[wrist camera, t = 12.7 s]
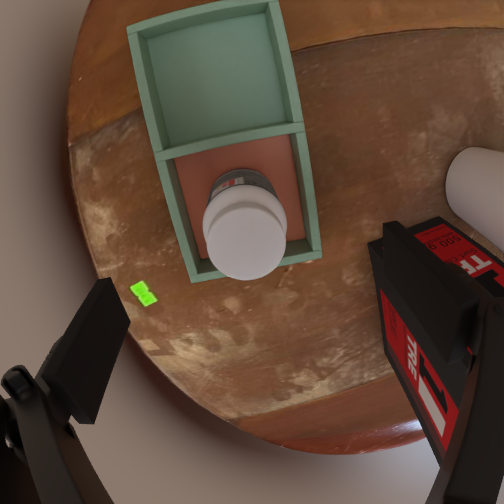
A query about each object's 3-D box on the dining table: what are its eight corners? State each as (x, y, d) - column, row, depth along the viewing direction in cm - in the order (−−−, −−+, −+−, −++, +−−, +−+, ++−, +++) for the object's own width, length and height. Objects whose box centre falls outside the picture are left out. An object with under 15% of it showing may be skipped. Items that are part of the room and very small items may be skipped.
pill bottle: (196, 188, 27) (177, 229, 18) (253, 153, 26) (264, 178, 17) (231, 240, 29) (231, 301, 20) (286, 209, 28) (311, 259, 20)
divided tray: (138, 35, 22) (125, 26, 18) (271, 5, 21) (276, -8, 18) (195, 264, 31) (191, 283, 28) (313, 241, 31) (322, 258, 28)
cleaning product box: (442, 327, 37) (517, 438, 19) (384, 352, 38) (445, 481, 20) (438, 216, 30) (572, 323, 12) (367, 242, 31) (481, 389, 13)
